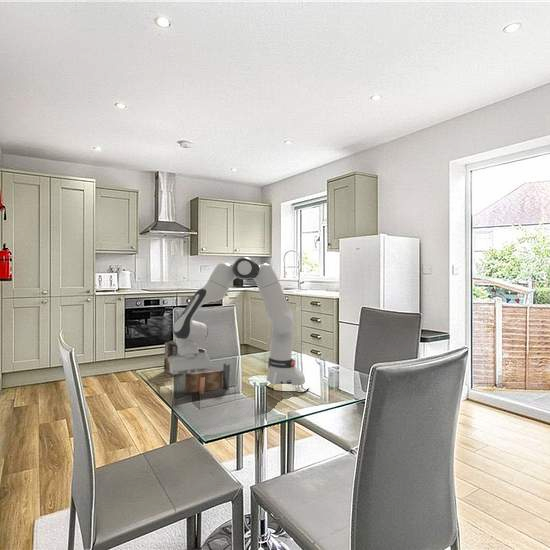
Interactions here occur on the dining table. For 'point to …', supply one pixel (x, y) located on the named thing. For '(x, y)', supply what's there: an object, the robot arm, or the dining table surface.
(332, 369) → the dining table surface
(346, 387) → the dining table surface
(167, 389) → the dining table surface
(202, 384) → the catch post
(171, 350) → the coffee box
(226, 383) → the gate post
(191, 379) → the gate
